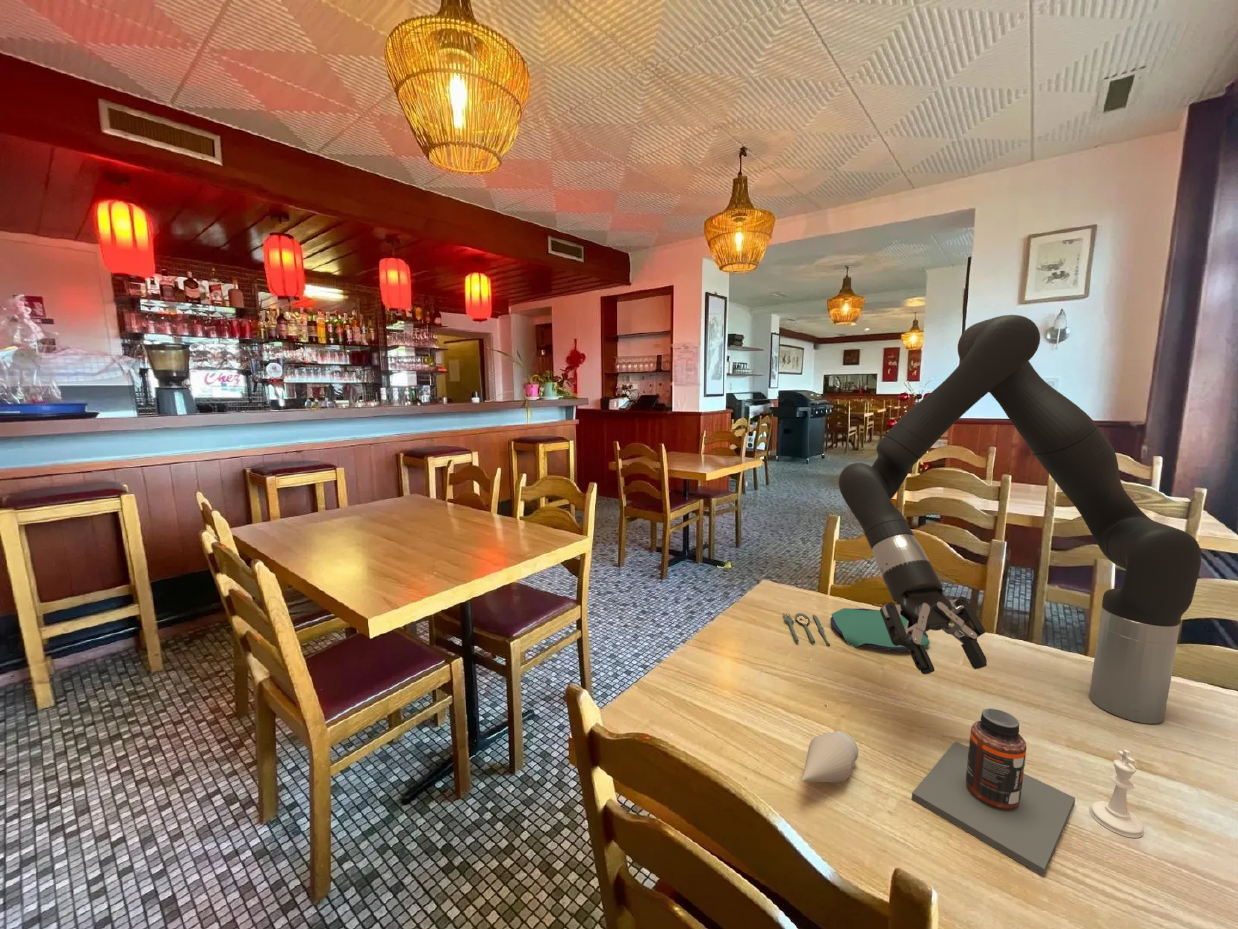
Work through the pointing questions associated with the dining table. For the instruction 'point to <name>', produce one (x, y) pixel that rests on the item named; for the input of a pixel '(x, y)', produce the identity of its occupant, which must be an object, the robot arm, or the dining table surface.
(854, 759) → the ice cream cone
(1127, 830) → the chess piece
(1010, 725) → the supplement bottle
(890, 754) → the dining table surface
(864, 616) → the cutlery set
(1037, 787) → the mat
